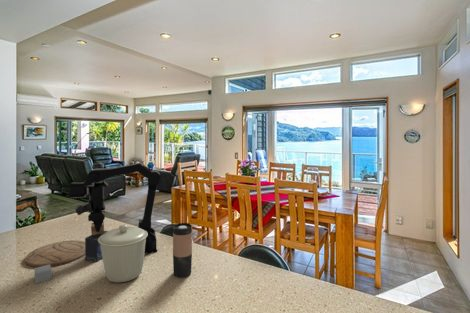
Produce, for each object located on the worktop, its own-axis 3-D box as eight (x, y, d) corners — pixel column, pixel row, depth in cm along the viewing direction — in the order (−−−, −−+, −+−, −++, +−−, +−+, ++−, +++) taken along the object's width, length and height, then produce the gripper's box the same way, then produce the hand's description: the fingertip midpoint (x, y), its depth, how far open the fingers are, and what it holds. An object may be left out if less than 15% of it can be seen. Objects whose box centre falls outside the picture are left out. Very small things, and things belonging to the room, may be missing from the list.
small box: (97, 262, 114) (96, 239, 113) (84, 260, 115) (83, 238, 114) (113, 252, 124) (112, 230, 123) (101, 250, 125) (100, 229, 124)
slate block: (50, 273, 104) (50, 264, 104) (51, 279, 100) (51, 269, 100) (34, 278, 101) (34, 268, 100) (35, 283, 97) (35, 273, 97)
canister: (98, 294, 91) (97, 236, 90) (99, 270, 107) (98, 220, 106) (151, 281, 100) (151, 228, 98) (144, 261, 116) (144, 215, 114)
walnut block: (104, 229, 122) (103, 221, 121) (103, 233, 117) (103, 224, 117) (92, 231, 119) (91, 223, 119) (91, 235, 115) (91, 226, 115)
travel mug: (195, 270, 108) (195, 224, 107) (185, 279, 101) (186, 230, 100) (179, 267, 111) (179, 221, 109) (169, 276, 104) (169, 227, 102)
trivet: (51, 273, 105) (50, 268, 105) (11, 262, 113) (11, 257, 113) (101, 248, 128) (101, 244, 128) (66, 240, 137) (66, 237, 137)
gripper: (78, 193, 122) (79, 225, 123) (73, 203, 105) (75, 240, 106) (104, 191, 127) (105, 222, 128) (103, 200, 110) (105, 235, 111)
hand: (98, 229), depth 118 cm, fingers closed on walnut block, 5 cm apart
